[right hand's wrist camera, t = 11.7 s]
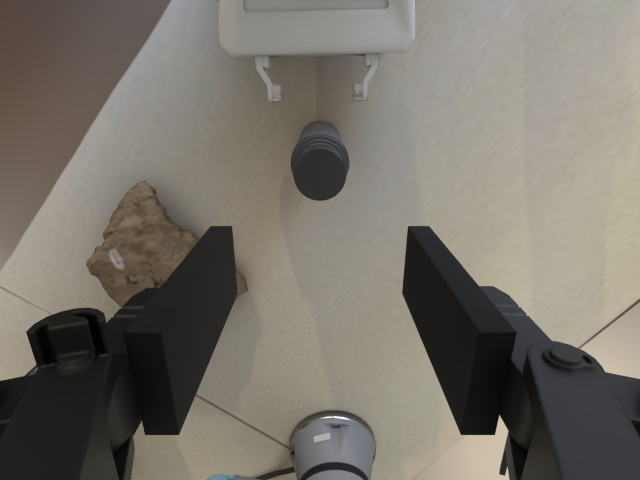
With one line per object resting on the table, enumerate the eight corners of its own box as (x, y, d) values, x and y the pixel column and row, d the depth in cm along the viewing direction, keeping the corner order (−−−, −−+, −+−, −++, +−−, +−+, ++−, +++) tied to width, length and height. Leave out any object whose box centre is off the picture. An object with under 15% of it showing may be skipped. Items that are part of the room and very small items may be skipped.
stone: (64, 247, 52) (48, 264, 47) (144, 174, 52) (138, 183, 47) (182, 333, 61) (180, 356, 56) (250, 272, 61) (255, 288, 56)
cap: (331, 202, 32) (332, 208, 30) (287, 182, 31) (285, 187, 30) (353, 158, 30) (355, 162, 29) (307, 136, 30) (306, 139, 28)
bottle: (329, 167, 52) (335, 217, 31) (294, 151, 51) (275, 190, 30) (346, 131, 50) (365, 157, 29) (310, 113, 49) (303, 127, 28)
